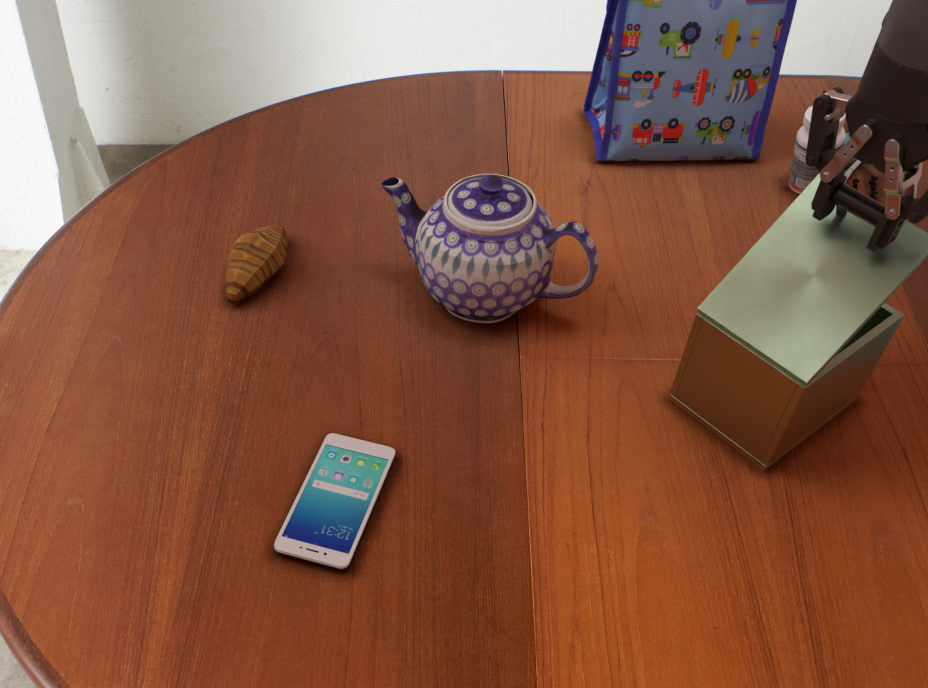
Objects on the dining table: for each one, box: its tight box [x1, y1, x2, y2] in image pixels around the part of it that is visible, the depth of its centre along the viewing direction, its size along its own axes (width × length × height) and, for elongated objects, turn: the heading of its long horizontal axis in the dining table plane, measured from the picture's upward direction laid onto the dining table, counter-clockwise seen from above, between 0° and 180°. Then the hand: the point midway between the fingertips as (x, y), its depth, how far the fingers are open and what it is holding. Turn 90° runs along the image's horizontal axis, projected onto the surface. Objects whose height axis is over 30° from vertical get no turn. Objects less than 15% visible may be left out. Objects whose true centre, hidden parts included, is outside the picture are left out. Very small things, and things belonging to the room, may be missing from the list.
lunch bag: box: [583, 0, 798, 162], centre depth 116 cm, size 22×14×29 cm, turn 93°
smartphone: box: [273, 432, 396, 572], centre depth 89 cm, size 8×1×15 cm
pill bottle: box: [787, 105, 846, 195], centre depth 117 cm, size 6×6×10 cm
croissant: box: [223, 224, 289, 305], centre depth 108 cm, size 14×7×5 cm, turn 161°
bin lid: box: [696, 173, 928, 386], centre depth 83 cm, size 16×13×5 cm
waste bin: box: [667, 302, 905, 472], centre depth 94 cm, size 16×13×12 cm
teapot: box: [380, 173, 600, 324], centre depth 102 cm, size 25×15×15 cm, turn 63°
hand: (848, 230), depth 83 cm, fingers closed on bin lid, 5 cm apart
